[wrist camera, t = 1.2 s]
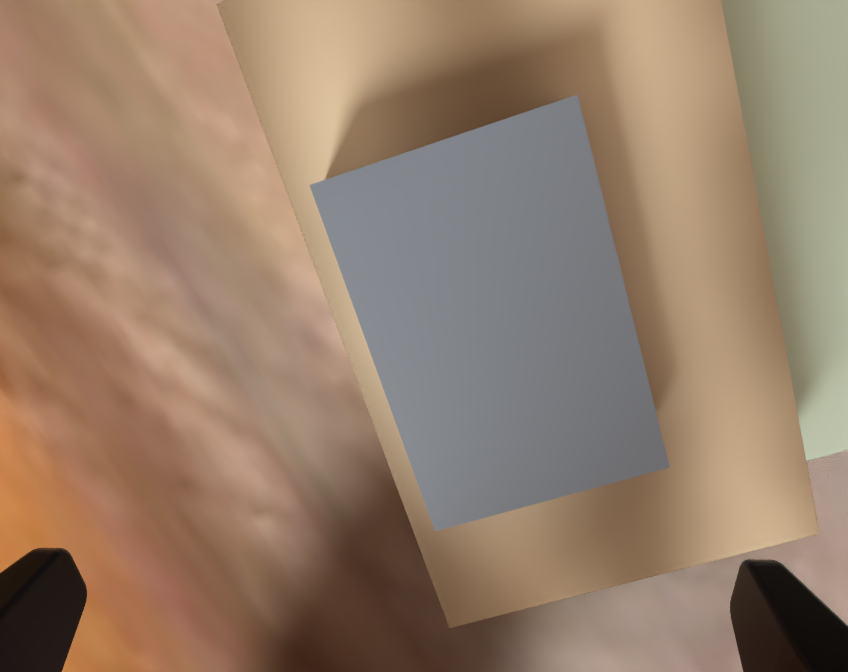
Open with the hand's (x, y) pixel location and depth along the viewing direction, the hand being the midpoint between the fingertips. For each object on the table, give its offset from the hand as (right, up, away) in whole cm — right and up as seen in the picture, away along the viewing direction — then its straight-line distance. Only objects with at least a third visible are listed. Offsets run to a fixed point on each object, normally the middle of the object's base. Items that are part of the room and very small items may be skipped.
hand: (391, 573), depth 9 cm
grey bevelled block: (+2, +4, +8) cm, 10 cm away
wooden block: (+4, +5, +12) cm, 14 cm away
